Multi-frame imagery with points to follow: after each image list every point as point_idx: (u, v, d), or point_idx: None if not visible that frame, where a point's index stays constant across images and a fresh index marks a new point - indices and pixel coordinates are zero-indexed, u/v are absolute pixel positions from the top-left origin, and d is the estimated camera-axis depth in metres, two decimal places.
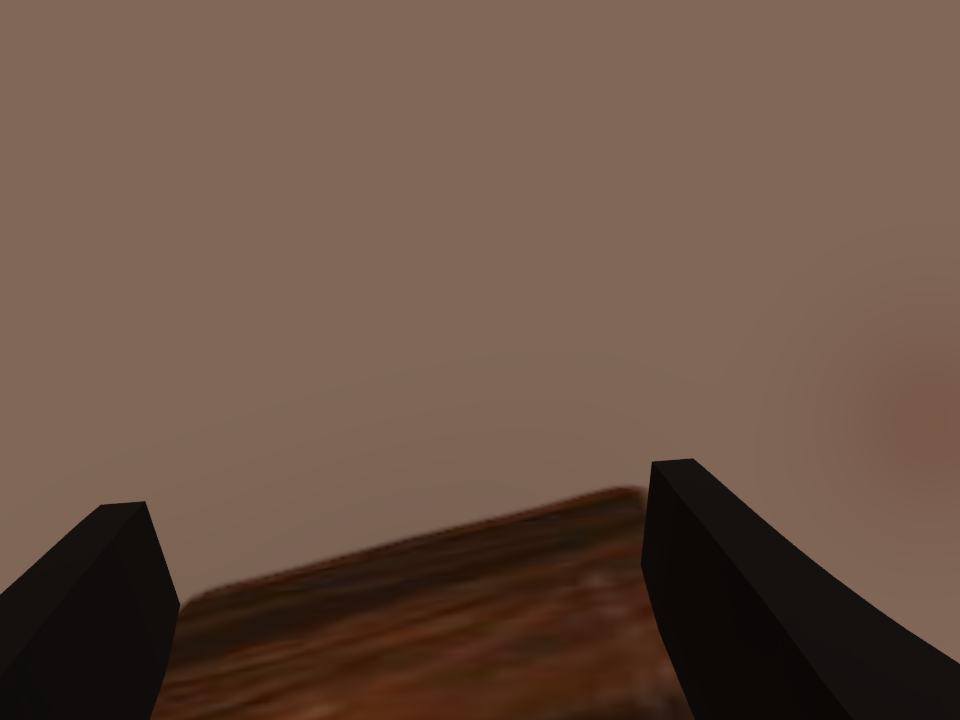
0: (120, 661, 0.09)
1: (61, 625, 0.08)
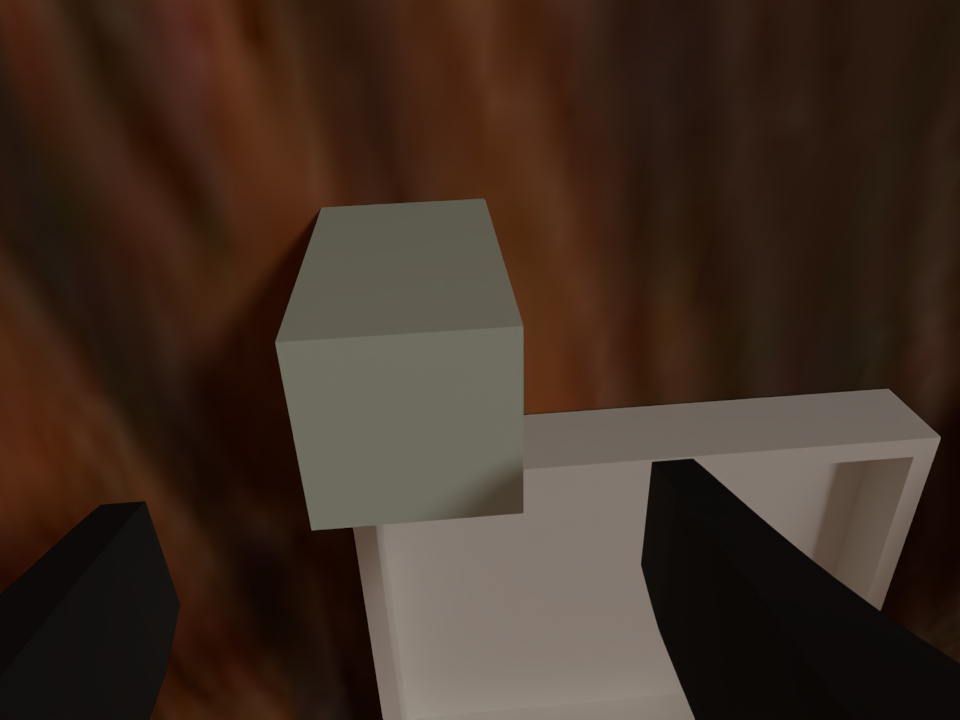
0: (120, 661, 0.09)
1: (61, 625, 0.08)
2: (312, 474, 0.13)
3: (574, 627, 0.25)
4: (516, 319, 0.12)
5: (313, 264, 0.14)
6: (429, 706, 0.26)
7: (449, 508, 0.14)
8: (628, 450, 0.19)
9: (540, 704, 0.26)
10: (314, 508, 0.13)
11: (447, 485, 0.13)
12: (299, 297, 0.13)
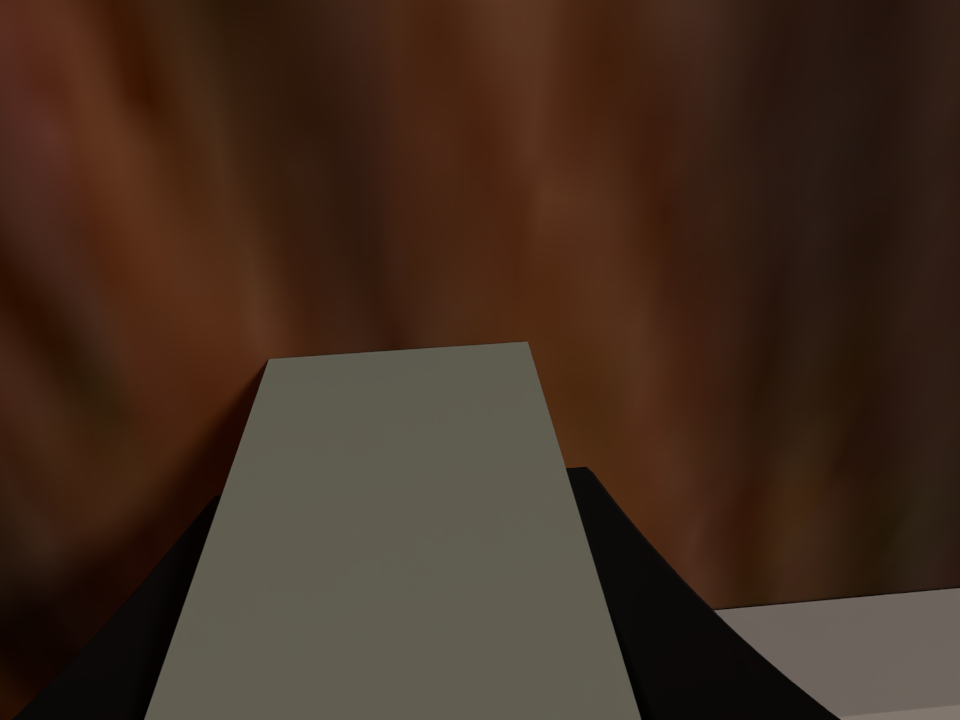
0: None
1: None
2: None
3: None
4: None
5: (232, 525, 0.08)
6: None
7: None
8: None
9: None
10: None
11: None
12: (187, 646, 0.07)
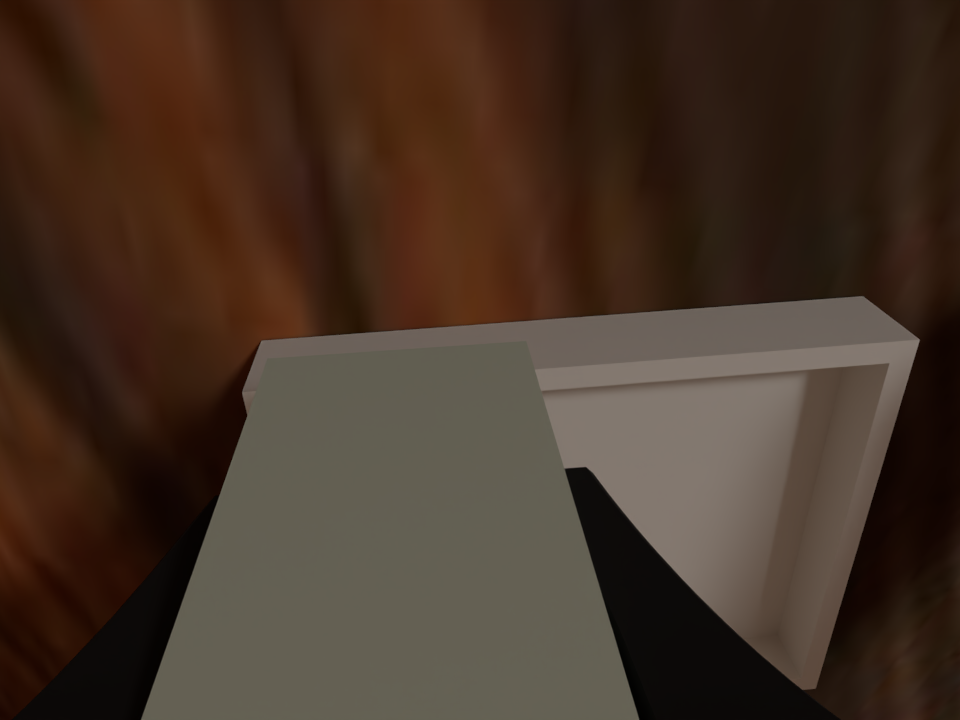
0: None
1: None
2: None
3: None
4: None
5: (230, 524, 0.08)
6: None
7: None
8: (566, 357, 0.17)
9: None
10: None
11: None
12: (185, 645, 0.06)
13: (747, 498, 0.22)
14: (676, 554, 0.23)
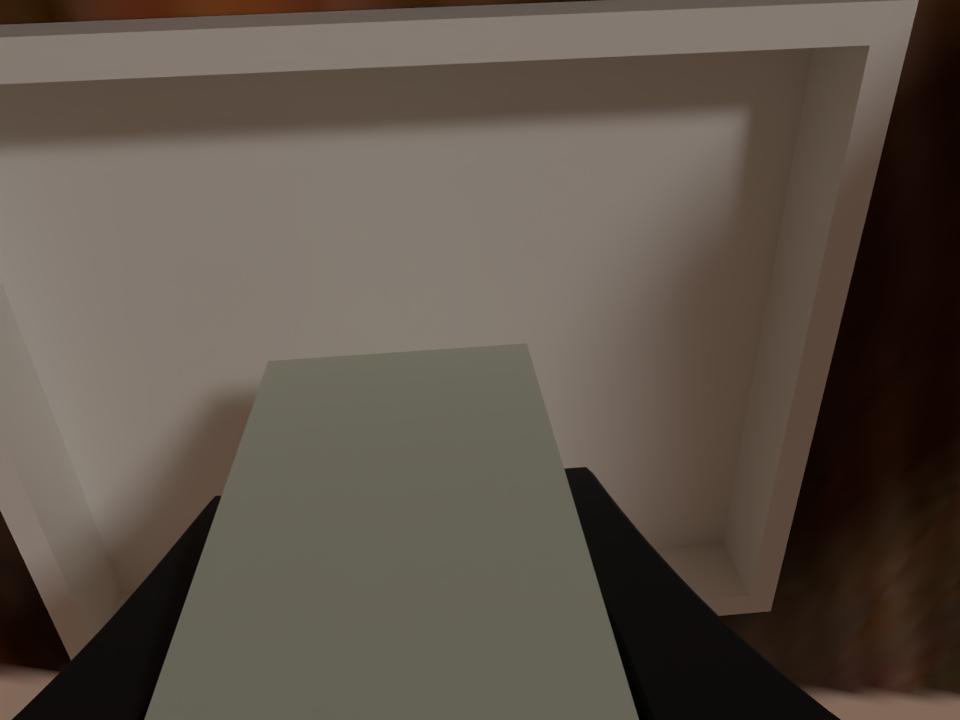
0: None
1: None
2: None
3: None
4: None
5: (232, 527, 0.08)
6: None
7: None
8: (344, 21, 0.11)
9: None
10: None
11: None
12: (187, 649, 0.07)
13: (668, 325, 0.15)
14: (572, 414, 0.16)
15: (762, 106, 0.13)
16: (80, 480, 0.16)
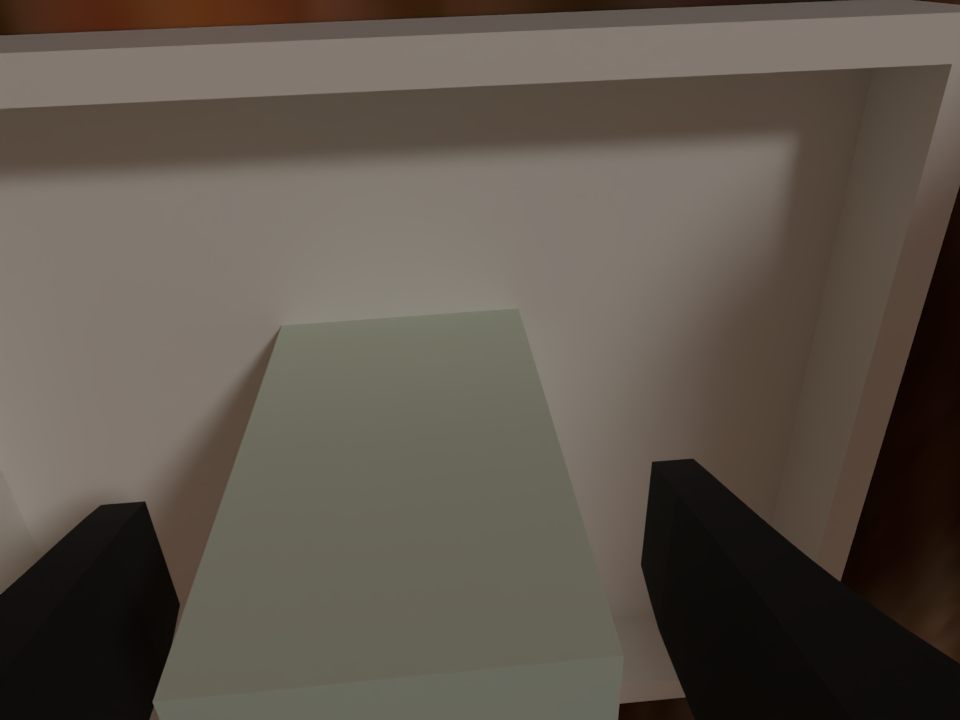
0: (120, 661, 0.09)
1: (61, 625, 0.08)
2: None
3: None
4: (607, 631, 0.06)
5: (254, 460, 0.09)
6: None
7: None
8: (329, 35, 0.09)
9: None
10: None
11: None
12: (219, 552, 0.08)
13: (700, 374, 0.13)
14: (590, 471, 0.14)
15: (813, 131, 0.11)
16: (37, 546, 0.14)
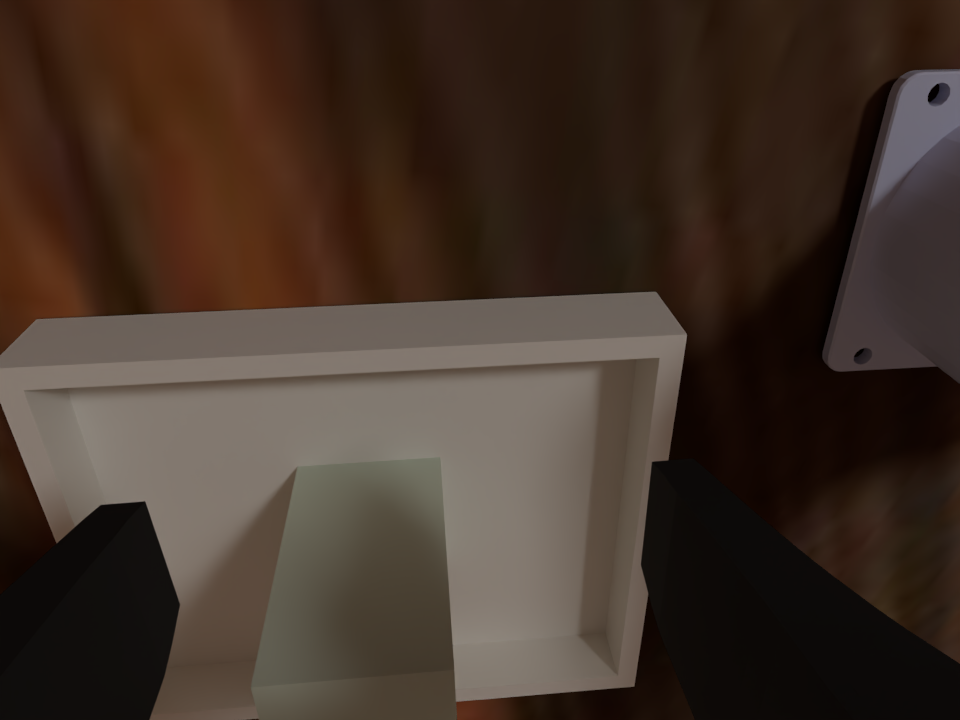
0: (120, 661, 0.09)
1: (61, 625, 0.08)
2: None
3: None
4: (449, 659, 0.15)
5: (286, 563, 0.17)
6: (183, 653, 0.23)
7: None
8: (330, 342, 0.17)
9: None
10: None
11: None
12: (273, 617, 0.16)
13: (555, 493, 0.22)
14: (489, 548, 0.22)
15: (608, 365, 0.19)
16: None
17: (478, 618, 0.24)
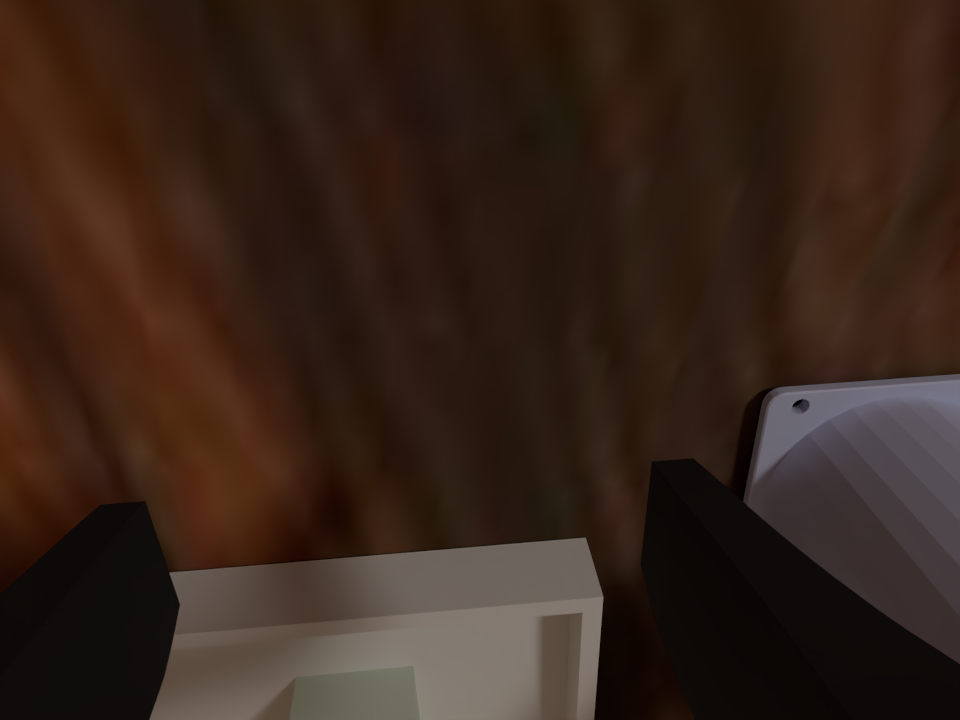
0: (120, 661, 0.09)
1: (61, 625, 0.08)
2: None
3: None
4: None
5: None
6: None
7: None
8: (317, 609, 0.21)
9: None
10: None
11: None
12: None
13: (511, 686, 0.26)
14: None
15: None
16: None
17: None
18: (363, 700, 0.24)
